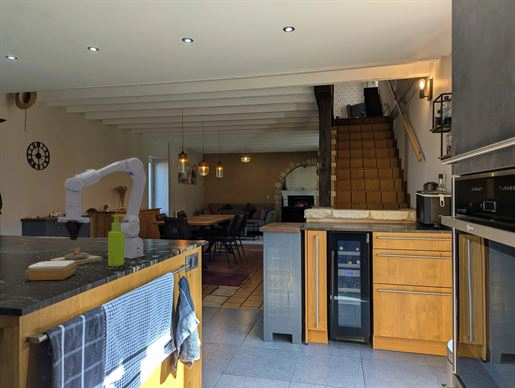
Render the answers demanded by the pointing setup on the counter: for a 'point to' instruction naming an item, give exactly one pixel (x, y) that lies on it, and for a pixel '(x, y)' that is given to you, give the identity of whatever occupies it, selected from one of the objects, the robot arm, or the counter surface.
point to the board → (79, 261)
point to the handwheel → (76, 255)
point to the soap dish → (51, 270)
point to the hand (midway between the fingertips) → (73, 239)
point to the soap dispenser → (116, 243)
